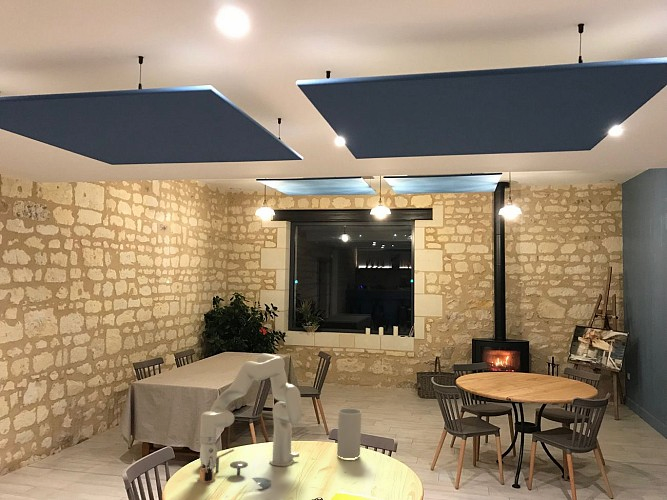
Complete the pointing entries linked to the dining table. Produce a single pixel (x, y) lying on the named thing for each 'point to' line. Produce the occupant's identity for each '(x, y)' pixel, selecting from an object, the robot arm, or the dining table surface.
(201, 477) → the block
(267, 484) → the dish
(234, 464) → the balance
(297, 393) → the robot arm
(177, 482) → the dining table surface
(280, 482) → the dining table surface
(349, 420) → the cylinder vase
